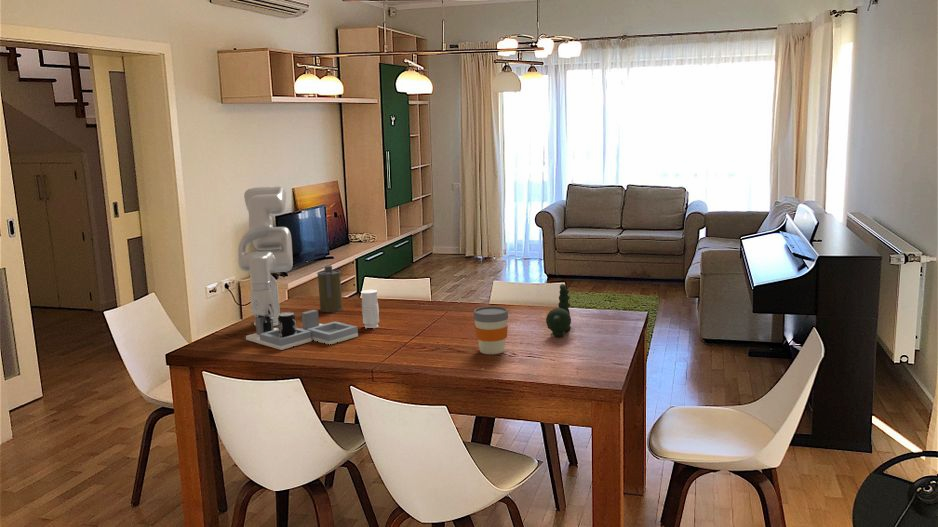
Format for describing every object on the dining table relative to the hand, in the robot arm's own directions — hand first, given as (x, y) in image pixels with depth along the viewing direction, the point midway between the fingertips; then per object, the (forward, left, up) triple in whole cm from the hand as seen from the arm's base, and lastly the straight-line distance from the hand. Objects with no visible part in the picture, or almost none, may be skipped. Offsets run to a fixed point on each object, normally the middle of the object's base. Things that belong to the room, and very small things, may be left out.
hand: (265, 330), depth 307 cm
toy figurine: (+93, +72, -3) cm, 118 cm away
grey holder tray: (+9, 0, -3) cm, 9 cm away
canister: (-14, +44, -3) cm, 46 cm away
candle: (+24, +35, -3) cm, 43 cm away
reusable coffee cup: (+86, +39, -3) cm, 94 cm away
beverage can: (+16, 0, -3) cm, 16 cm away
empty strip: (+19, +15, -3) cm, 24 cm away
